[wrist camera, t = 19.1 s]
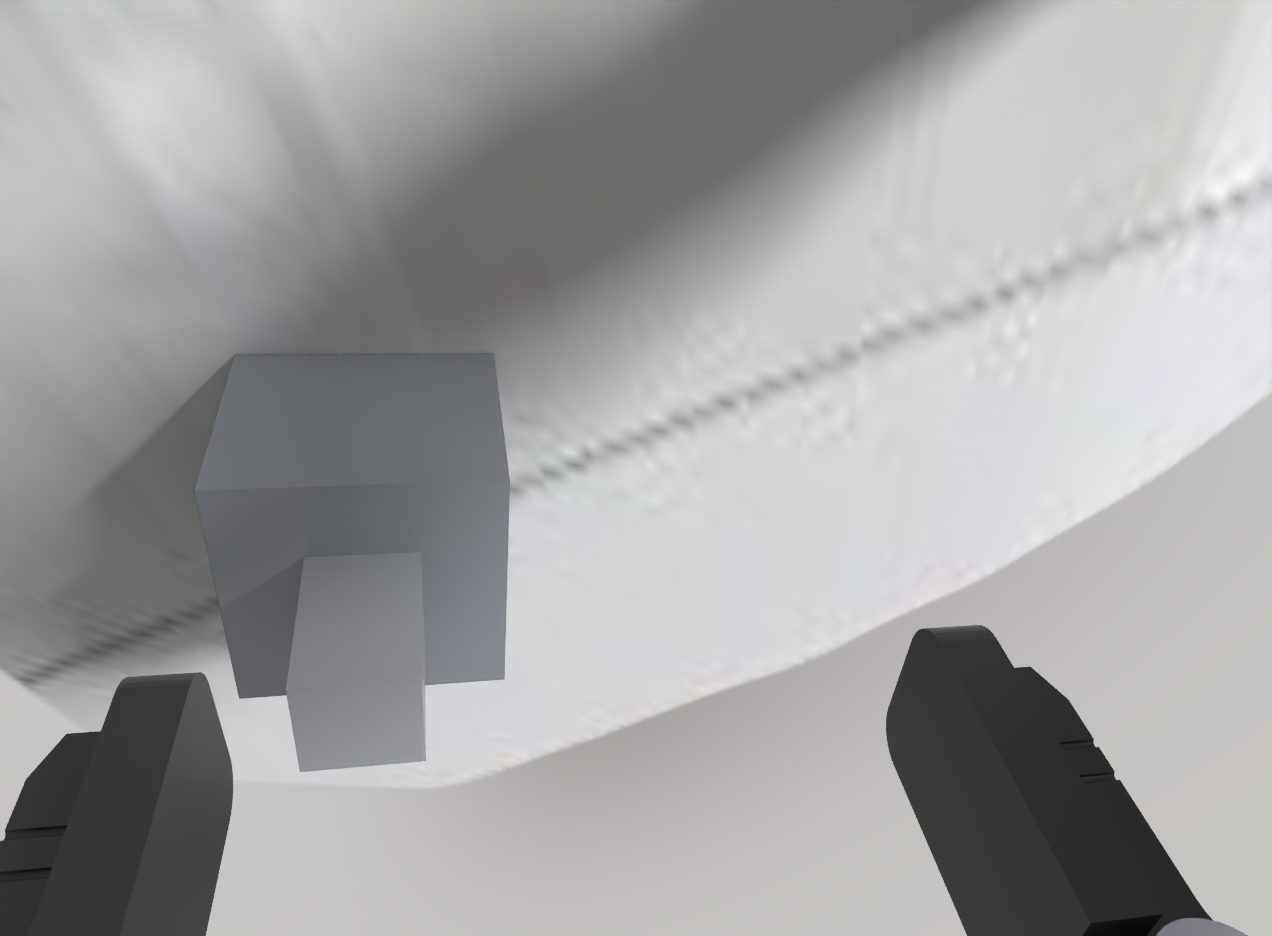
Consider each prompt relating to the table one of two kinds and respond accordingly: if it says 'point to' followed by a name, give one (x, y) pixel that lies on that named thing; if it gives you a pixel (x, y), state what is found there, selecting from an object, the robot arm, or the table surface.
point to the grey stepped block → (358, 541)
